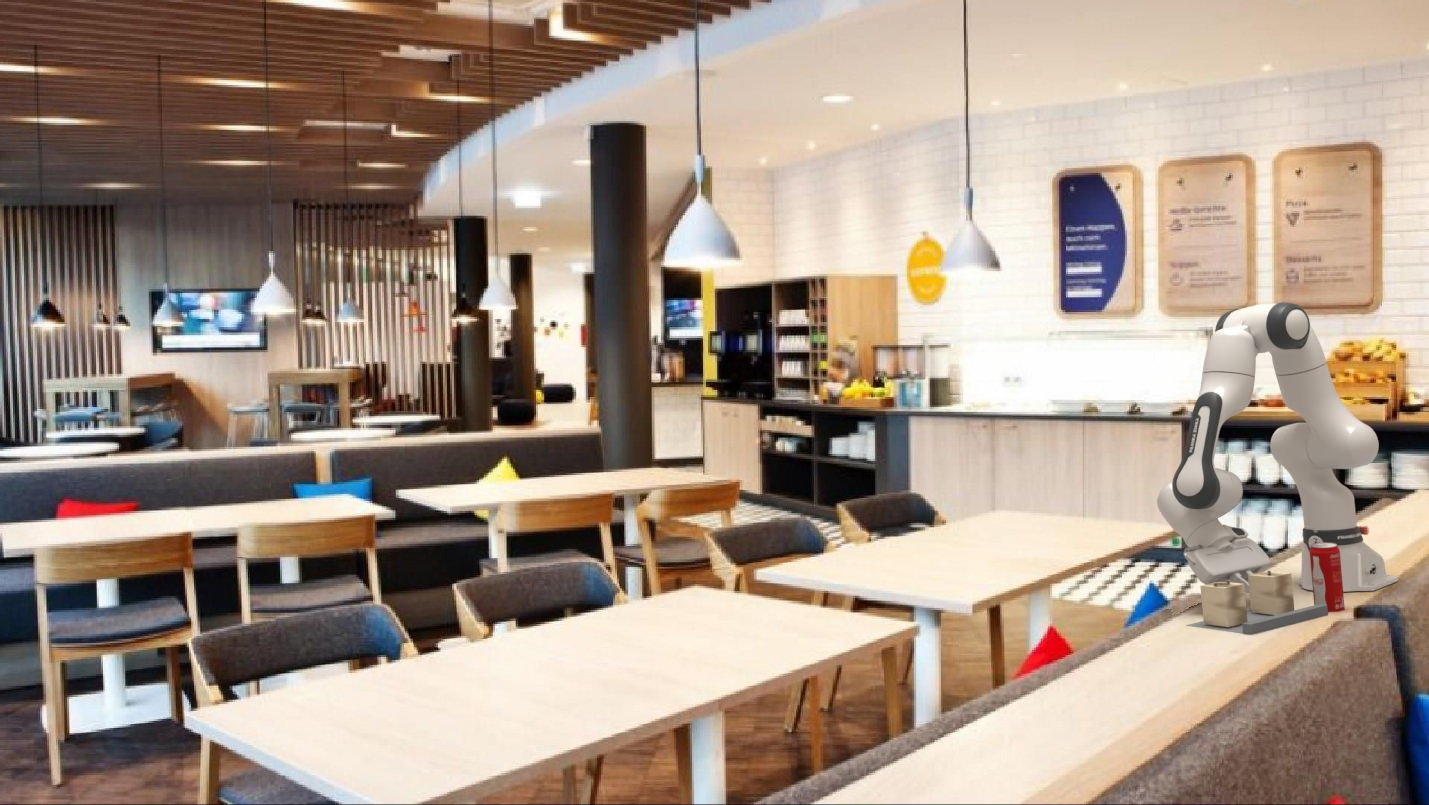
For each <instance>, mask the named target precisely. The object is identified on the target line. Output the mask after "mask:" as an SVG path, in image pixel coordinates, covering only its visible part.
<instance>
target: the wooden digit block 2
mask: <svg viewBox="0 0 1429 805" xmlns="http://www.w3.org/2000/svg"><path fill="white" fill-rule="evenodd" d="M1199 586H1200V587H1199V588H1200V596H1201V597H1200V598H1201V607H1202V616H1203V617H1202V618H1203V619H1202V621H1204V624H1208V625H1215V626H1222V627H1232V626H1235V625H1239V624H1242V623H1246V622H1248V620H1247V610H1248V609H1247V602H1246V601H1247V600H1246V593H1245V587H1244V584H1241V583H1232V582H1231V581H1230V580H1228V581H1216V582H1215V583H1210V584H1202V585H1199Z"/></svg>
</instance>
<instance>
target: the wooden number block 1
mask: <svg viewBox="0 0 1429 805" xmlns="http://www.w3.org/2000/svg"><path fill="white" fill-rule="evenodd" d="M1248 581H1249V592H1250V593H1249V600H1250V609H1251V612H1254V613H1262V614H1270V615H1278V614H1282V613H1286V612H1290V611H1294V610H1295V601H1294V590H1293V579H1292V573H1291V572H1282V571H1272V570H1265V571H1264V572H1260V573H1255V574H1251V575H1248Z"/></svg>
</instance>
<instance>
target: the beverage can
mask: <svg viewBox="0 0 1429 805" xmlns="http://www.w3.org/2000/svg"><path fill="white" fill-rule="evenodd" d="M1310 562H1311V574H1312V585H1313V590H1312V595H1313V606H1314V605H1318V604H1320V605H1327V610H1328V613H1335V612H1336V613H1338V612H1343V611H1345V610H1346V609H1345V608H1346V605H1345V598H1344V597H1345V596H1344V592H1343V582H1342V571H1341V559H1340V550H1339V548H1338V546H1337V544H1335V543H1326V542H1325V543H1315V544H1312V545H1311V549H1310Z"/></svg>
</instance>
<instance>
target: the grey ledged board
mask: <svg viewBox="0 0 1429 805" xmlns="http://www.w3.org/2000/svg"><path fill="white" fill-rule="evenodd" d="M1328 615H1329V612H1328V610H1327V605H1320V604H1318V605H1314V604H1313V605H1311V606H1306V607H1302V608H1299V609H1294V611H1290V612H1286V613H1282V614H1278V615H1270V614H1262V613H1254V612H1251V608H1250V609H1247V620H1248V622H1246V623H1242V624H1239V625H1235V626H1232V627H1222V626H1215V625H1208V624H1204V620H1202V621H1198V622H1193V623H1188V624H1185V626H1187V627H1192V628H1193V627H1194V628H1201V629H1206V630H1208V629H1209V630H1216V631H1221V632H1228V633H1236V634H1243V635H1249V636H1253V635H1256V634H1257V635H1258V634H1260V633H1265V632H1268V631H1272V630H1276V629H1281V628H1283V627H1287V626H1291V625H1296V624H1299V623H1303V622H1307V621H1311V620H1315V619H1318V618H1322V617H1325V616H1326V617H1327V616H1328Z"/></svg>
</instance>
